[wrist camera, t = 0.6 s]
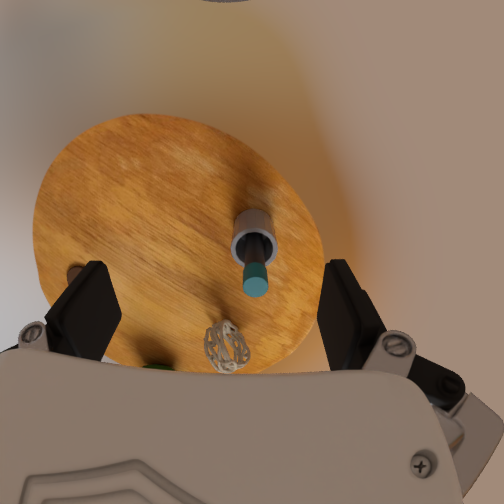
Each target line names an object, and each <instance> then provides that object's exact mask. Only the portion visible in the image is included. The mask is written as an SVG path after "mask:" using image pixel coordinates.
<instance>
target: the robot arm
mask: <svg viewBox="0 0 504 504" xmlns="http://www.w3.org/2000/svg"><path fill="white" fill-rule="evenodd" d="M121 317H122V313H121V309H120V307H119V304H118V301H117V298H116V295H115V292H114V288H113V285H112V282H111V279H110V275H109V272H108V269H107V266H106V264H104V263H103V262H102V261H89V262H88V263H87V264H86V266H85V267H84V268H83V269H82V270H81V271H80V272H79V274H78V275H77V276H76V277H75V278H74V280H73V281H72V282H71V283H70V284H69V286H68V287H67V288H66V289H65V291H64V292H63V293H62V294H61V296H60V297H59V298H58V299H57V301H56V302H55V303H54V305H53V306H52V307H51V309H50V310H49V311H48V313H47V314H46V315H45V317H44V318H45V320H46V322H47V324H46V325H44V324H43V323H42V322H39V321H37V322H36V321H35V322H32V323H30V324H28V325H26V326H25V327H24V328H23V329H22V330H21V332H20V334H19V337H18V344H17V345H15V346H13V347H11V348H8V349H6V350H4V351H3V352H0V504H464V503H463V498H464V497H465V495H466V494H467V493H468V491H469V490H470V489H471V487H472V486H473V484H474V483H475V481H476V480H477V478H478V477H479V475H480V474H481V472H482V471H483V469H484V468H485V466H486V464H487V463H488V461H489V460H490V458H491V456H492V454H493V453H494V451H495V449H496V447H497V445H498V444H499V442H500V440H501V438H502V436H503V433H504V423H503V420H502V419H501V418H500V417H499V416H498V415H497V414H496V413H495V412H494V411H493V410H491V409H490V408H489V407H488V406H487V405H485V404H484V403H483V402H482V401H481V400H480V399H478V398H477V397H476V396H475V395H473V394H472V393H470V394H469V395H468V394H467V393H466V392H465V384H464V381H463V380H462V378H461V377H460V376H459V375H458V374H456V373H455V372H453V371H451V370H449V369H446V368H444V367H442V366H440V365H438V364H436V363H433V362H431V361H429V360H427V359H425V358H423V357H421V356H419V355H417V354H415V353H416V345H415V342H414V341H413V339H412V338H411V337H410V336H409V335H407V334H405V333H404V332H401V331H397V330H390V331H387V330H386V328H385V326H384V324H383V322H382V320H381V318H380V316H379V314H378V313H377V311H376V309H375V307H374V305H373V303H372V301H371V299H370V298H369V296H368V294H367V292H366V291H365V290H362V289H361V287H360V285H359V283H358V282H357V280H356V278H355V276H354V275H353V273H352V271H351V269H350V267H349V266H348V264H347V262H346V261H345V260H344V259H334V260H333V259H332V260H331V261H330V263H326V265H325V270H324V277H323V283H322V289H321V295H320V301H319V307H318V312H317V321H318V325H319V329H320V333H321V336H322V340H323V344H324V347H325V351H326V354H327V358H328V362H329V366H330V370H331V371H319V372H302V373H278V374H277V373H276V374H220V373H197V372H182V371H169V370H159V369H149V368H141V367H133V366H126V365H119V364H112V363H105V362H101V359H102V357H103V355H104V353H105V351H106V349H107V347H108V344H109V342H110V340H111V338H112V336H113V334H114V332H115V330H116V328H117V326H118V324H119V322H120V320H121Z"/></svg>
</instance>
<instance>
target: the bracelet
mask: <svg viewBox="0 0 504 504" xmlns="http://www.w3.org/2000/svg"><path fill="white" fill-rule="evenodd" d="M225 325H226V326H227V327H226V326H225ZM230 327H232V328H233V329H235V331H233V330H231V329H230ZM209 332H210V336H211V339H212V340H213V341H210V342H209V341H208V337H209ZM217 333H218V334H219V335H220V339H219V337H218V335H217ZM228 333H229V334H230V335H231V336H232V337H231V338H230V337H229V336H228V335H227V334H228ZM232 333H233V334H234V335H235V336H236V337H237V338H236V337H235V336H234V335H233V334H232ZM240 337H241V338H240ZM223 338H224V339H225V340H226V341H227V342H228V343H229V344H230V345H231V347H232V348H233V349H234V360H232V359H230V356H229V353H228V351H227V349H226V346H225V344H224V340H223ZM204 341H205V342H204V349H205V353H206V356H207V357H208V359H209V361H210V362H211V364H212V366H213V367H214V368H215V369H216V370H217V371H219V372H222V373H231V372H234V371H235V370H236V369H239V368H242V367H244V366H245V365H246V364H247V363H248V361H249V360H250V350H249V348H248V346H247V345H246V342H245V339H244V336H243V335H242V333H240V332H239V331H238V328H237V327H236V326H235V325H233V324H232V323H231V321H230V320H226V319H224V320H222V321H220V322H218V323H215V324H213V325H212V327H209V328H208V329H206V334H205V338H204ZM235 341H237V343H238V347H236V345H235V344H234V342H235ZM239 341H240V342H241V344H242V345H243V350H242V353H241V345H240V342H239ZM216 344H217V345H218V352H217V353H218V355H217V354H216V352H215V350H214V349H213V347H215V346H216ZM208 347H209V349H210V351H211V353H212V354H213V355H211V356H210V354H209V352H208ZM246 350H247V353H245V351H246ZM221 352H222V354H223V357H224V359H223V358H222V356H221ZM244 353H245V354H244ZM237 355H238V362H237ZM243 356H244V357H245V358H246V361H243ZM215 359H216V360H217V361H218V366H217V365H216V364H215V362H214V360H215ZM230 363H231V364H230ZM227 367H228V368H227ZM226 368H227V369H226Z"/></svg>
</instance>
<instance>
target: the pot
mask: <svg viewBox="0 0 504 504" xmlns="http://www.w3.org/2000/svg"><path fill="white" fill-rule="evenodd" d="M251 232H258V233H262V238H263V248H264V258H265V266H267V265H269V264H270V263H271V262H272V261H273V260H274V259H275V257H276V254H277V251H278V248H277V240H276V235H275V230H274V225H273V222H272V219H271V218H270V216H269V215H268V214H267V213H265V212H264V211H262V210H259V209H248V210H245V211H243V212H242V213H240V214H239V215H238V216H237V218H236V220H235V222H234V226H233V233H232V241H231V253H232V257H233V258H234V259H235V261H236V262H237V263H238V264H240V265H241V266H243V267H244V266H245V234H247V233H251Z"/></svg>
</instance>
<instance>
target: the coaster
mask: <svg viewBox="0 0 504 504" xmlns="http://www.w3.org/2000/svg"><path fill="white" fill-rule="evenodd" d="M83 268H84V267H82V266H75V267H73V268H71V269H70V270H69V272H68V274H67V281H68V285H69V284H70V283H71V282H72V281H73V280H74V278H75V277H76V276H77V275H78V274H79V272H80V271H81V270H82V269H83Z"/></svg>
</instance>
